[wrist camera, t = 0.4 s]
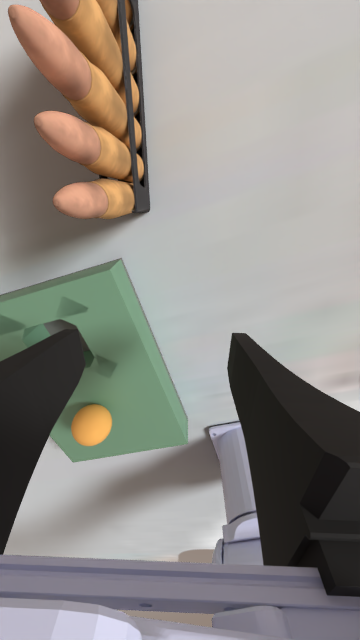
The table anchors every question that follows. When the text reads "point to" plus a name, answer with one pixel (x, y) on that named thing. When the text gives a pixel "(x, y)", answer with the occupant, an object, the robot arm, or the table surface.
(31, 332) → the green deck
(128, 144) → the ammunition clip
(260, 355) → the robot arm
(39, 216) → the table surface
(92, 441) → the ball
